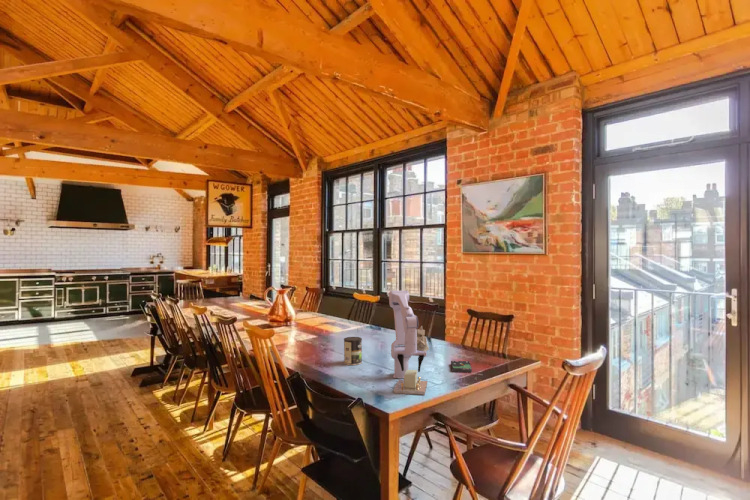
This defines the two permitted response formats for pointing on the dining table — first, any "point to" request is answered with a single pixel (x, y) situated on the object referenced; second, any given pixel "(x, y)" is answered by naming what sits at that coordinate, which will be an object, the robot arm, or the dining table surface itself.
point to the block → (410, 378)
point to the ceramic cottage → (421, 340)
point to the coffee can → (352, 350)
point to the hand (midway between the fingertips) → (410, 370)
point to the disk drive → (461, 366)
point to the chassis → (418, 390)
